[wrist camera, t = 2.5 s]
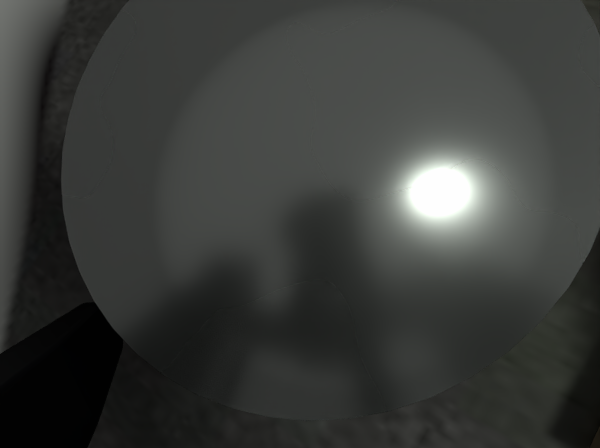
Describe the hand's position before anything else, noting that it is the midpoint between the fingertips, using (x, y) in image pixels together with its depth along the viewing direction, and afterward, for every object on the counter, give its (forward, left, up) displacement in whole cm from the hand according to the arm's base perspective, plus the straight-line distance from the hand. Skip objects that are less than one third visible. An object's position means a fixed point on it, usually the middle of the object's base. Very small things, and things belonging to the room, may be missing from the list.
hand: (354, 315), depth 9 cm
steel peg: (+1, +1, -9) cm, 9 cm away
